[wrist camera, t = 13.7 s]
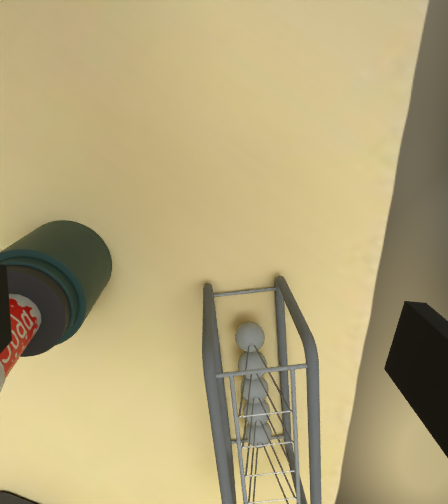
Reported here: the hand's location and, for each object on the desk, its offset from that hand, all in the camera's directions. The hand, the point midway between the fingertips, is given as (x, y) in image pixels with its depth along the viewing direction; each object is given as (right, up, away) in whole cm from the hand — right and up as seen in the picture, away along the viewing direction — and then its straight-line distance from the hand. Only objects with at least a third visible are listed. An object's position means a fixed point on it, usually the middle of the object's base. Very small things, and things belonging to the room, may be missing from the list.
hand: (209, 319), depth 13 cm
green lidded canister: (-19, +1, +36) cm, 41 cm away
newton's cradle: (+4, -15, +42) cm, 45 cm away
